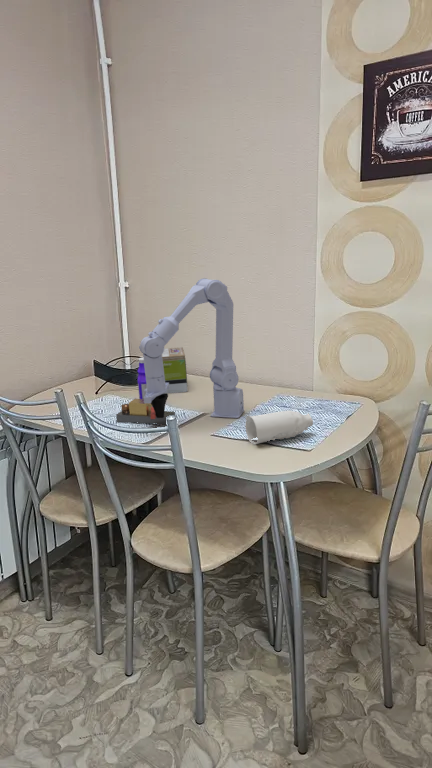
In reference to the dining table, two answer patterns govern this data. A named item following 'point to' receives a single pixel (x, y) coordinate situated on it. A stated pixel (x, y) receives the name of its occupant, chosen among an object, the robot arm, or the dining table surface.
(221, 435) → the dining table surface
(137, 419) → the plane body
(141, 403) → the tan rectangular block
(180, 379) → the tea box
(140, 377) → the bottle
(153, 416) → the lever
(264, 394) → the dining table surface
